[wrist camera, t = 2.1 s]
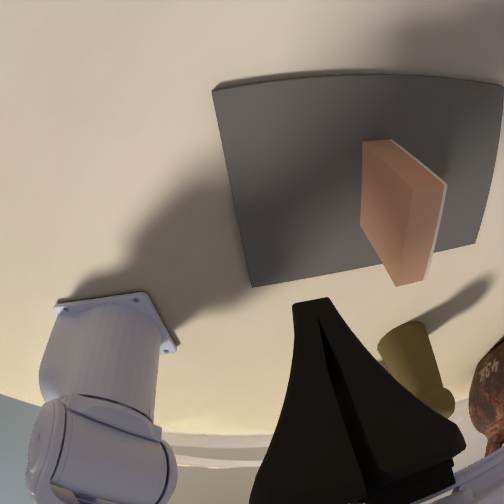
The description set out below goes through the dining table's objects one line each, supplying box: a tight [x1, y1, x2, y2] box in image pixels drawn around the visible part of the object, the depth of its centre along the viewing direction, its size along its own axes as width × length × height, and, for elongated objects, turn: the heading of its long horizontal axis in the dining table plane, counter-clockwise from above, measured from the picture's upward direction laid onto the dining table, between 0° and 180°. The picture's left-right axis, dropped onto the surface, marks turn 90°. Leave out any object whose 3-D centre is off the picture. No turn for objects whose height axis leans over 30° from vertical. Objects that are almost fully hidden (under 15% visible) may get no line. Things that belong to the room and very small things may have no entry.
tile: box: [360, 139, 447, 287], centre depth 16 cm, size 2×6×6 cm, turn 8°
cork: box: [377, 322, 455, 419], centre depth 27 cm, size 6×6×11 cm
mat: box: [212, 74, 504, 288], centre depth 19 cm, size 20×14×1 cm
